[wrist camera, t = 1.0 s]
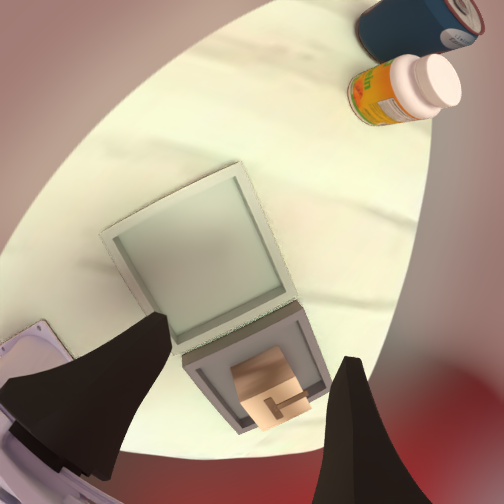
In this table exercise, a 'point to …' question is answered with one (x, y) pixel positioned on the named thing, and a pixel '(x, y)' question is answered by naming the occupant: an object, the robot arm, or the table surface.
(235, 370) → the letter cube
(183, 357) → the charcoal tray
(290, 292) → the sage tray
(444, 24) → the soda can
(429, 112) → the supplement bottle
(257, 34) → the table surface
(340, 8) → the table surface
